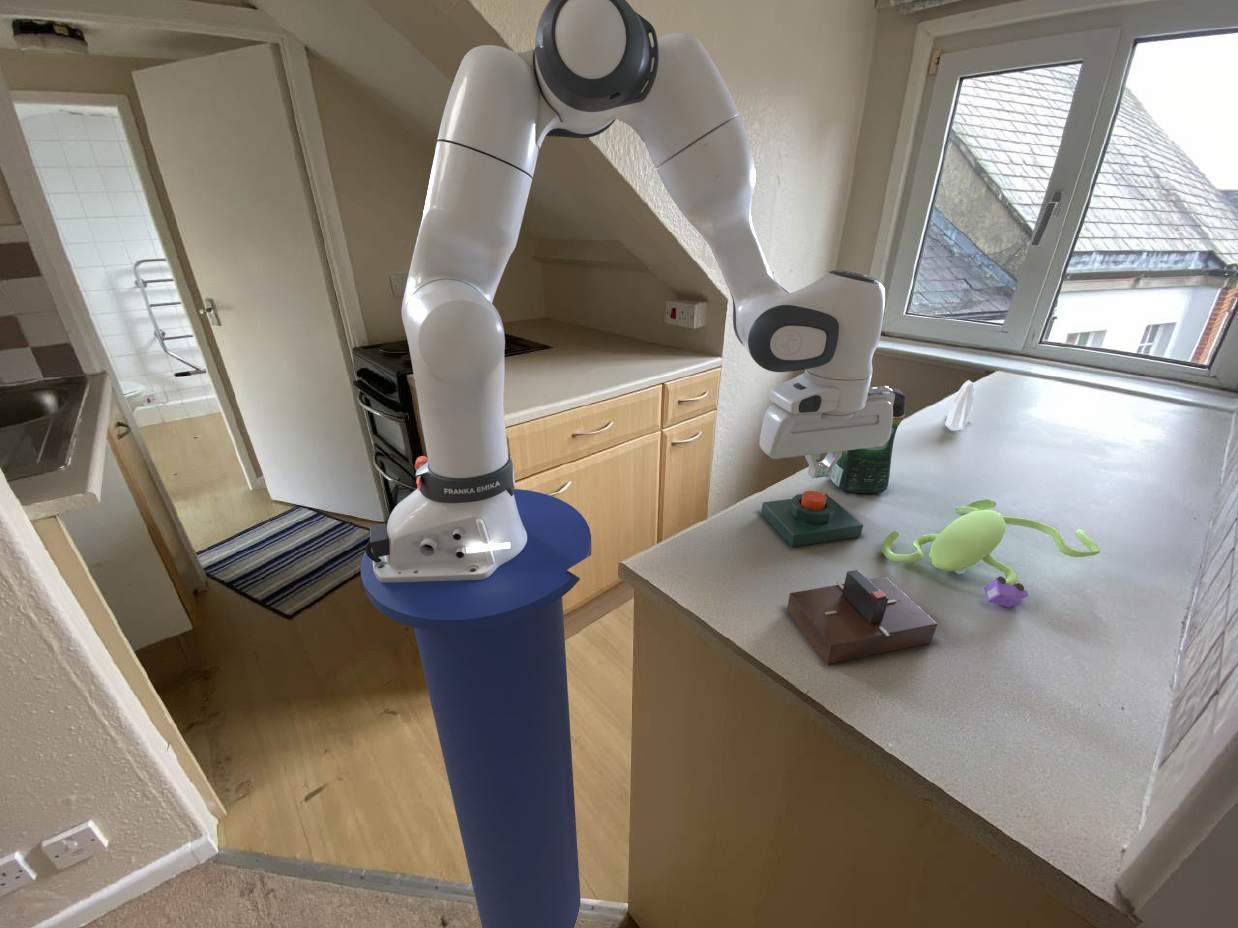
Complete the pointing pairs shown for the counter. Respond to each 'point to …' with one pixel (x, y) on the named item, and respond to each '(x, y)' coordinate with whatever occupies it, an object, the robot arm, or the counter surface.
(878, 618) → the dark block
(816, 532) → the button box
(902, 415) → the coffee jar
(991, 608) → the counter surface
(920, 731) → the counter surface
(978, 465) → the counter surface
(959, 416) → the white folded napkin
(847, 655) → the knob panel
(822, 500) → the button
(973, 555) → the figurine
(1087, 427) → the counter surface
